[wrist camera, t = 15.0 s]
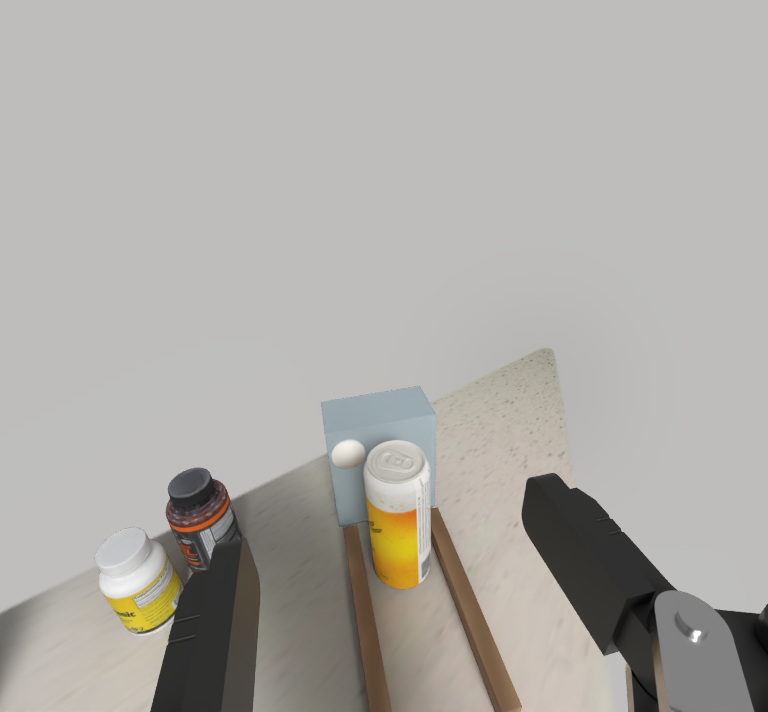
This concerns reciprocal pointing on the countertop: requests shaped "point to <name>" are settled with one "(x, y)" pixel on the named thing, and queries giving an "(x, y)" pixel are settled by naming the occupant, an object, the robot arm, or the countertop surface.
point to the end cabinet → (373, 440)
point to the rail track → (467, 608)
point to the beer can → (399, 512)
